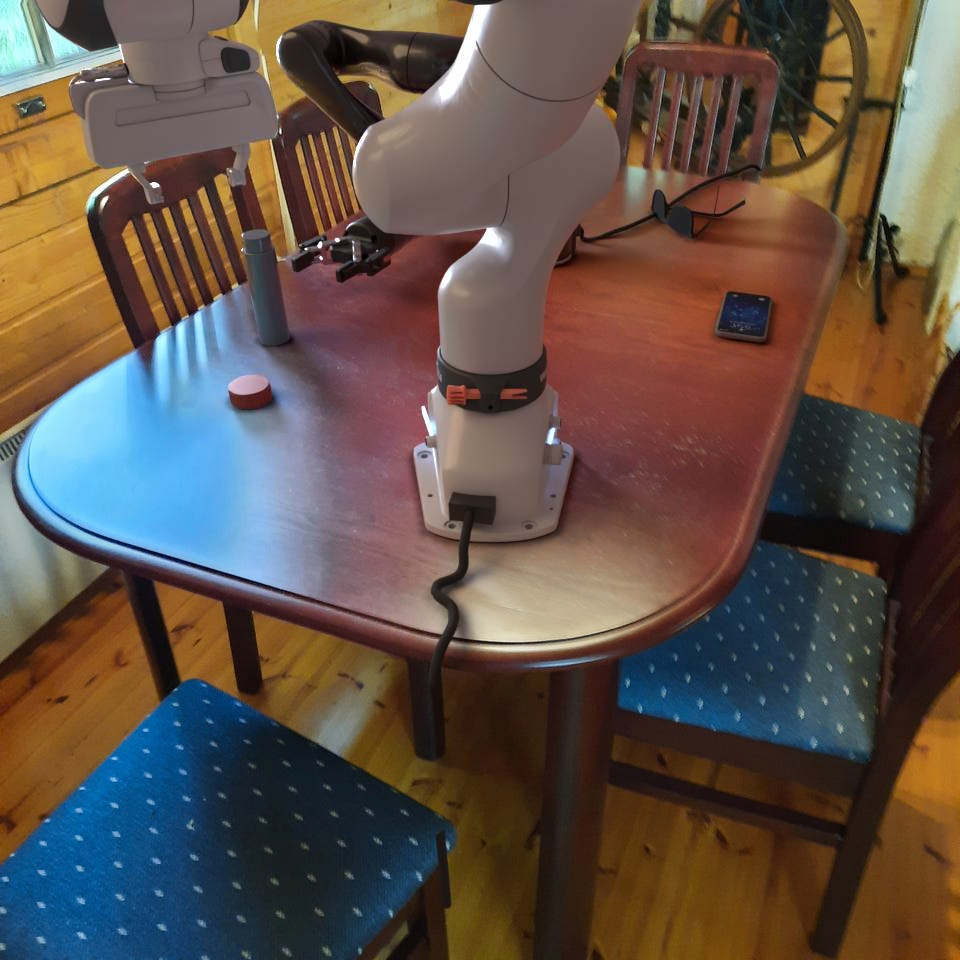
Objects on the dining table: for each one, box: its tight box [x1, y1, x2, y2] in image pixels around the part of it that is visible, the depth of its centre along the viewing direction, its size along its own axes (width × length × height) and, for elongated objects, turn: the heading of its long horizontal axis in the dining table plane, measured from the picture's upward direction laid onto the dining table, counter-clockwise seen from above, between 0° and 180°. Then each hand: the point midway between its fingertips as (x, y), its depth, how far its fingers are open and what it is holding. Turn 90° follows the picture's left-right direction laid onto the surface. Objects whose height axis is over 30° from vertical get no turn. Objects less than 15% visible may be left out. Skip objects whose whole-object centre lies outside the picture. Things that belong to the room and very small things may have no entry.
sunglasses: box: [649, 184, 746, 239], centre depth 159 cm, size 17×14×5 cm
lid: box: [227, 373, 273, 410], centre depth 112 cm, size 5×5×2 cm
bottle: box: [241, 228, 291, 347], centre depth 122 cm, size 4×4×16 cm
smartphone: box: [714, 290, 774, 343], centre depth 128 cm, size 7×1×15 cm
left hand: (198, 193), depth 96 cm, fingers open, 8 cm apart
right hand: (315, 271), depth 130 cm, fingers open, 8 cm apart
